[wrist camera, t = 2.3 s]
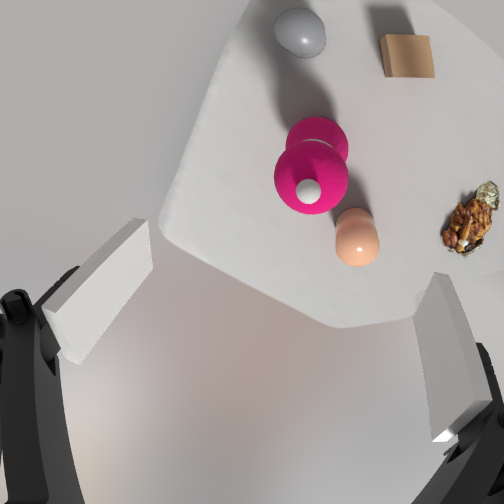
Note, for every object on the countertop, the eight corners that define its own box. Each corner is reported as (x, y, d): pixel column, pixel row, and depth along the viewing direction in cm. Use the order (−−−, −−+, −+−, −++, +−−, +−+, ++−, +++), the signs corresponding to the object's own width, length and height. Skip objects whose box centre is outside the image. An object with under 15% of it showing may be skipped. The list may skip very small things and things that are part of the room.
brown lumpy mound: (504, 193, 34) (514, 203, 31) (466, 256, 40) (473, 269, 37) (472, 171, 34) (482, 179, 31) (434, 239, 41) (440, 251, 38)
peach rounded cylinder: (378, 212, 41) (384, 232, 36) (369, 246, 44) (372, 269, 39) (339, 204, 41) (340, 223, 36) (332, 239, 44) (331, 262, 39)
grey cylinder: (327, 24, 29) (326, 11, 23) (323, 60, 32) (322, 55, 25) (286, 19, 30) (275, 6, 23) (283, 55, 33) (271, 50, 26)
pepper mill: (319, 101, 35) (310, 121, 18) (358, 144, 37) (380, 203, 20) (278, 138, 39) (235, 190, 22) (316, 177, 40) (303, 259, 24)
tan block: (417, 40, 27) (428, 35, 23) (422, 77, 30) (434, 78, 26) (379, 39, 29) (385, 34, 25) (385, 77, 31) (392, 76, 27)
